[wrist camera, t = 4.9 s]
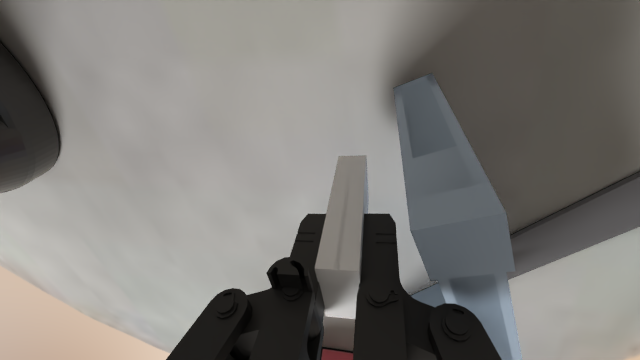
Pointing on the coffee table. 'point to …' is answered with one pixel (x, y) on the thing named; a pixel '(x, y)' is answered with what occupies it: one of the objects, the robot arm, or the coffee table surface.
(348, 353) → the puzzle cube
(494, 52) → the coffee table surface
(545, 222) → the latch line mat
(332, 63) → the coffee table surface
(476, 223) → the gate
